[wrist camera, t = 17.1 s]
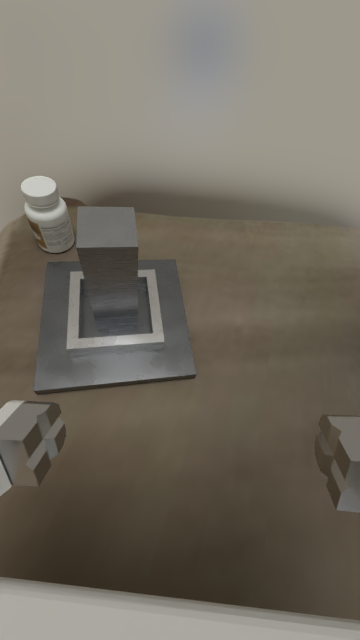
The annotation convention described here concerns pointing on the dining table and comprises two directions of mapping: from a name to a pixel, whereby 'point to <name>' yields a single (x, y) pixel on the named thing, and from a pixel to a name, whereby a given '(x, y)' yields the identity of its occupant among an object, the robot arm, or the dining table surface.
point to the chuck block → (111, 333)
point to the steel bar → (110, 264)
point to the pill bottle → (47, 214)
